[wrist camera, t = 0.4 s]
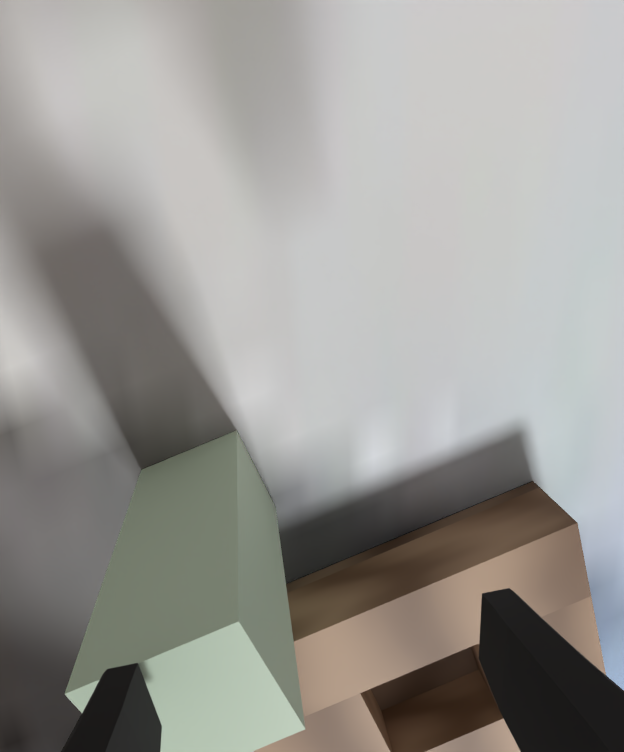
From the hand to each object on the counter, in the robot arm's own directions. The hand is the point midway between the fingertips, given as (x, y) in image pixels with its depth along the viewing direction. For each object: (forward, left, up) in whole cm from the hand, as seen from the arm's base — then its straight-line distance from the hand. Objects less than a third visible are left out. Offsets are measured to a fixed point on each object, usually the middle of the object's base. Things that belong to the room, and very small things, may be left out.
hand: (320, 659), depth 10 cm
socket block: (+2, -14, -10) cm, 17 cm away
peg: (-3, -1, -10) cm, 10 cm away
